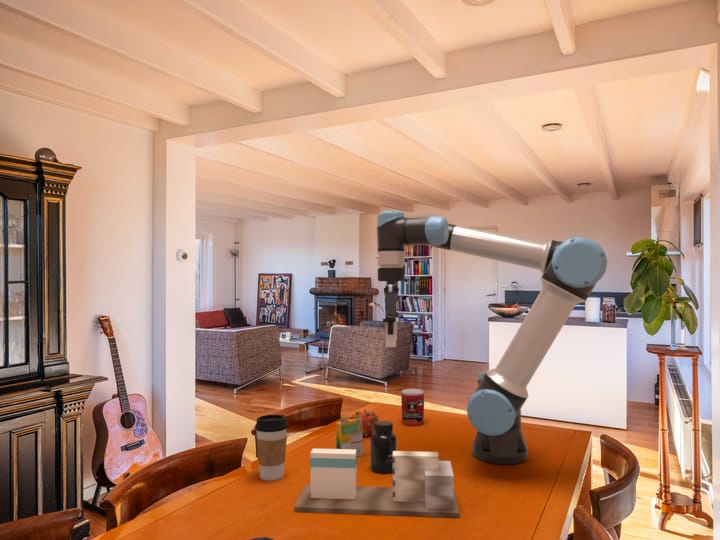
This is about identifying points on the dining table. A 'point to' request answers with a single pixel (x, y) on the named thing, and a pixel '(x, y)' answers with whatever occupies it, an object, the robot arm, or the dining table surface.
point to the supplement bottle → (383, 447)
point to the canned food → (412, 407)
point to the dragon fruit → (367, 421)
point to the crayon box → (350, 434)
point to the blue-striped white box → (333, 473)
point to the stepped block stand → (398, 491)
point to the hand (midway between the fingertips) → (391, 343)
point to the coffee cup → (271, 446)
